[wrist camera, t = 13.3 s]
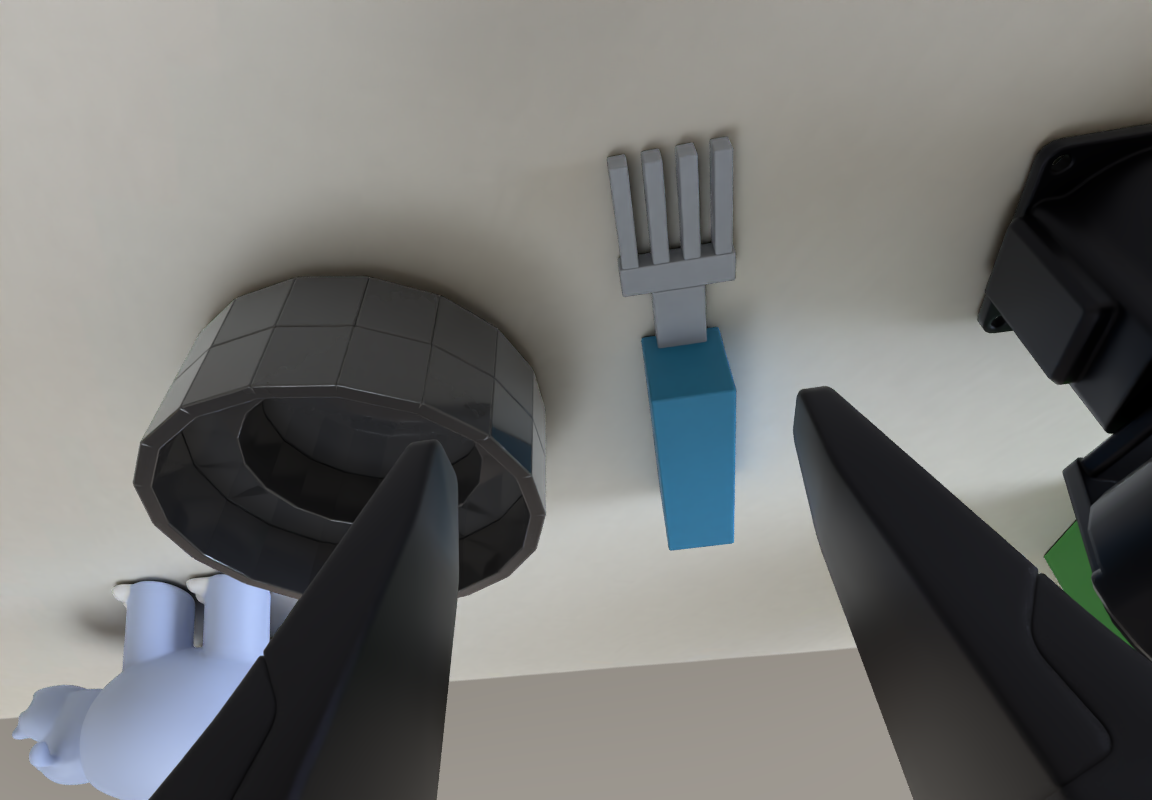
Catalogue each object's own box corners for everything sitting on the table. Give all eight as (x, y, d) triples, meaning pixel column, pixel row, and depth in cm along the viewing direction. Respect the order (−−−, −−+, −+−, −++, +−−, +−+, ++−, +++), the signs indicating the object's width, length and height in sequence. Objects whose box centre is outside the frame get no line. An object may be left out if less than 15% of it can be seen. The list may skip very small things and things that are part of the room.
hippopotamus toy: (7, 592, 33) (-124, 811, 27) (293, 562, 32) (229, 784, 25) (139, 673, 41) (63, 857, 34) (373, 651, 40) (340, 838, 33)
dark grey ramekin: (497, 233, 19) (486, 351, 16) (569, 479, 28) (572, 589, 24) (115, 296, 20) (27, 418, 17) (300, 514, 29) (267, 623, 26)
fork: (729, 481, 28) (744, 543, 26) (650, 491, 29) (659, 552, 27) (732, 134, 17) (758, 193, 15) (602, 157, 17) (610, 218, 15)
